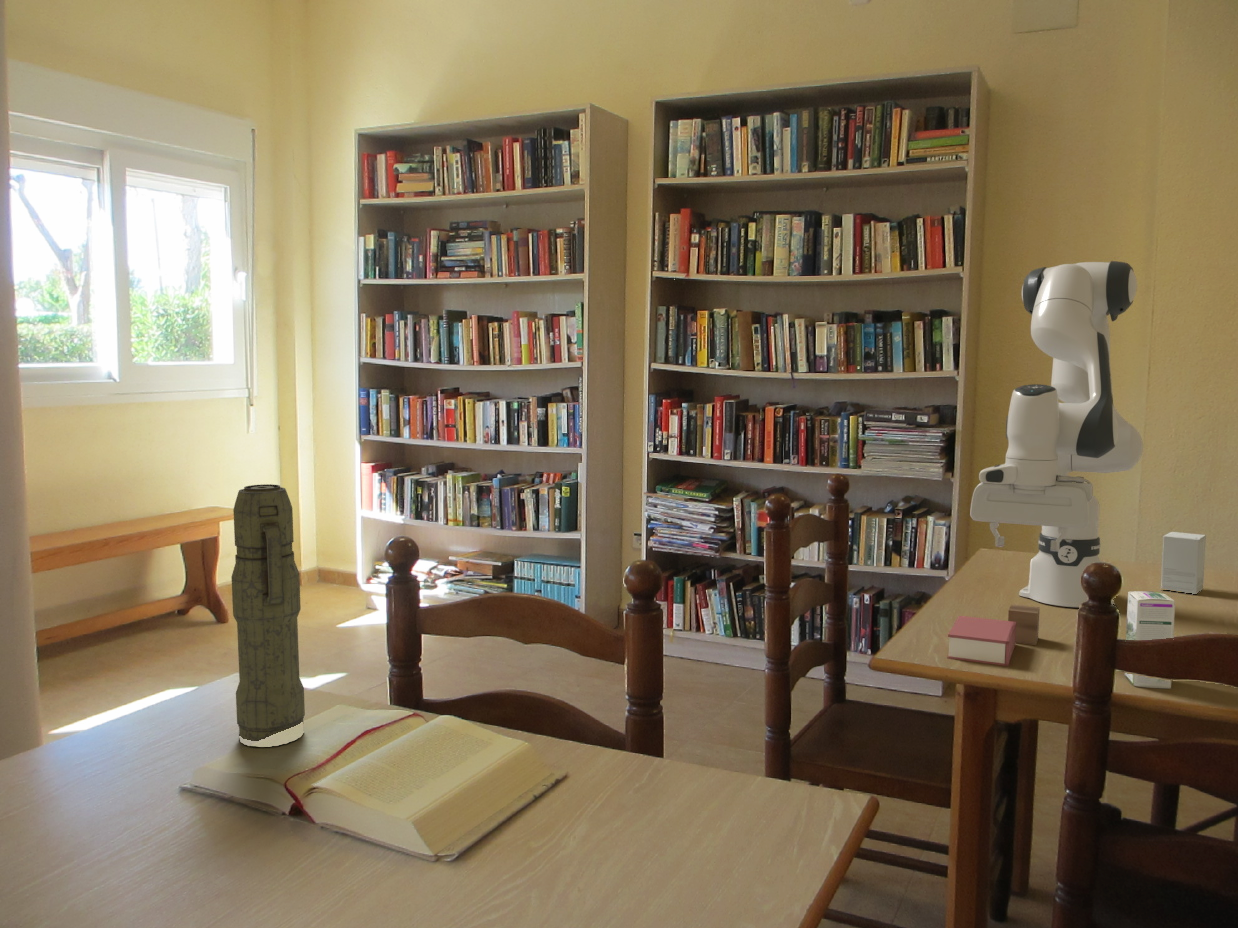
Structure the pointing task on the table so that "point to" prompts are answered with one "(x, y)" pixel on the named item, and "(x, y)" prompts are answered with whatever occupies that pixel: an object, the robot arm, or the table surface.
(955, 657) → the book
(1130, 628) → the syrup box
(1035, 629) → the walnut block
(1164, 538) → the supplement box
